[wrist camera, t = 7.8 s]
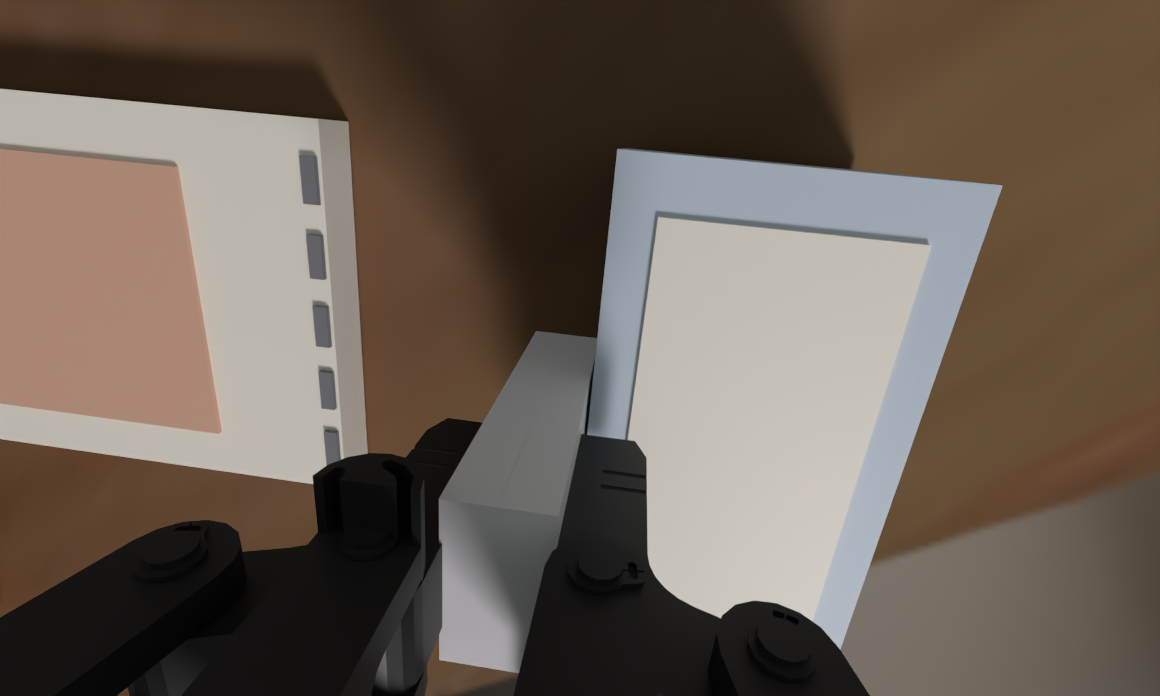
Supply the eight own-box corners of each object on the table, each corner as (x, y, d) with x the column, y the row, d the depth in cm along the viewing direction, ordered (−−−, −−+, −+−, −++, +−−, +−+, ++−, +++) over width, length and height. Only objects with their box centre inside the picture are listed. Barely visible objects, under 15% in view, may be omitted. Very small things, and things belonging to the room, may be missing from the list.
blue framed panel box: (587, 499, 18) (564, 650, 13) (626, 147, 14) (616, 149, 9) (770, 526, 18) (827, 693, 12) (863, 170, 14) (1007, 186, 8)
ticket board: (24, 415, 20) (-29, 437, 18) (-79, 81, 16) (-157, 73, 14) (368, 463, 19) (343, 491, 17) (348, 121, 15) (315, 119, 13)
